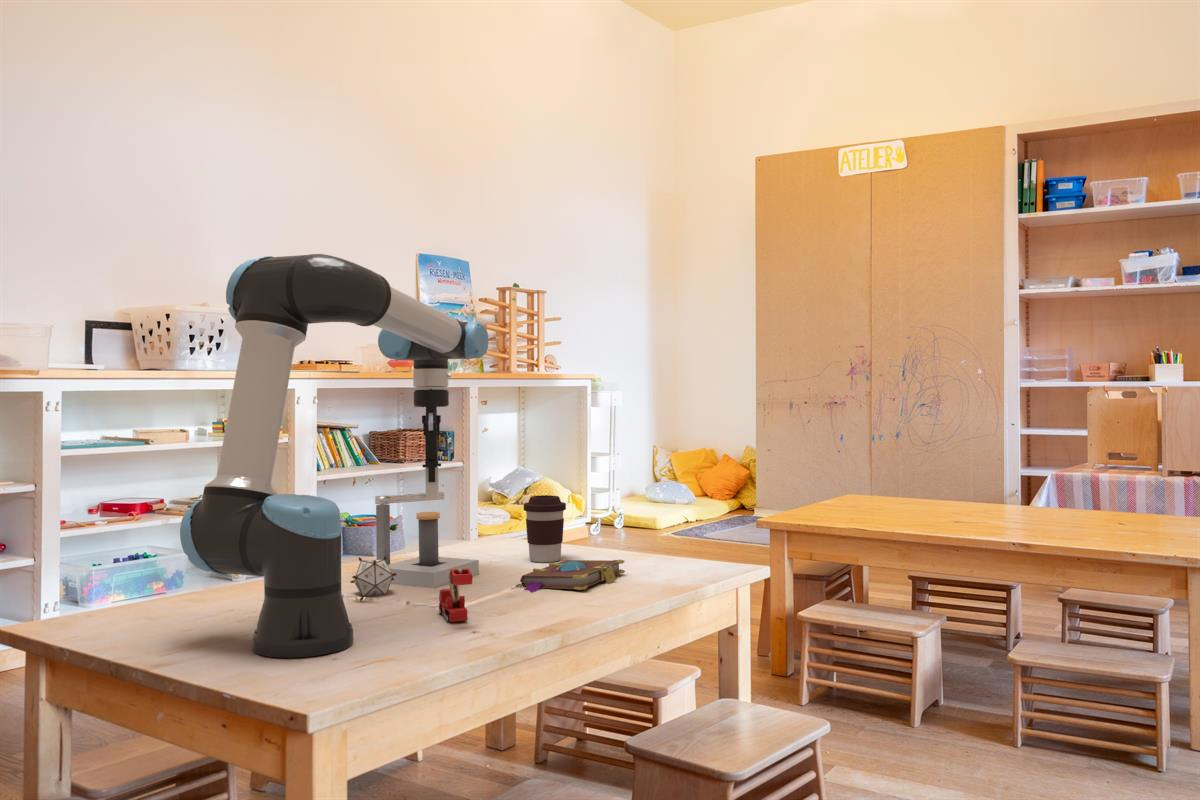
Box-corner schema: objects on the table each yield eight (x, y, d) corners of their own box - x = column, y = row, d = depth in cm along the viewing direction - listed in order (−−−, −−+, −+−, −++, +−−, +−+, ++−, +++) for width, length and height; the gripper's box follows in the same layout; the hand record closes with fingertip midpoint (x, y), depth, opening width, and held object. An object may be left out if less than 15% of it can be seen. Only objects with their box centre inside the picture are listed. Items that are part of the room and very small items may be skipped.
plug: (431, 581, 203) (430, 515, 203) (412, 579, 205) (411, 514, 205) (445, 576, 207) (444, 512, 207) (426, 575, 209) (425, 511, 209)
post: (385, 581, 208) (384, 506, 208) (366, 579, 210) (365, 505, 210) (400, 577, 213) (399, 504, 213) (381, 575, 215) (381, 503, 215)
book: (508, 597, 198) (506, 572, 198) (564, 575, 220) (563, 553, 220) (581, 599, 191) (580, 573, 191) (632, 577, 213) (630, 554, 213)
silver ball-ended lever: (445, 499, 218) (445, 492, 218) (378, 504, 209) (378, 497, 209) (439, 498, 221) (439, 491, 221) (372, 503, 212) (372, 496, 212)
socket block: (433, 592, 196) (433, 572, 196) (377, 586, 202) (377, 567, 202) (478, 578, 210) (478, 560, 210) (425, 573, 216) (425, 555, 216)
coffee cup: (570, 562, 229) (569, 498, 229) (527, 565, 227) (527, 499, 226) (561, 556, 239) (561, 493, 238) (521, 557, 236) (520, 495, 236)
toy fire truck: (455, 611, 180) (455, 557, 180) (473, 627, 167) (472, 570, 167) (437, 612, 179) (436, 559, 179) (453, 629, 166) (453, 572, 166)
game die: (379, 619, 190) (382, 583, 184) (340, 602, 191) (342, 566, 185) (402, 589, 197) (406, 553, 191) (365, 572, 198) (367, 537, 192)
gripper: (448, 388, 210) (449, 499, 210) (449, 388, 223) (449, 493, 223) (412, 388, 209) (413, 500, 209) (415, 389, 222) (416, 494, 222)
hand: (432, 496), depth 216 cm, fingers closed
